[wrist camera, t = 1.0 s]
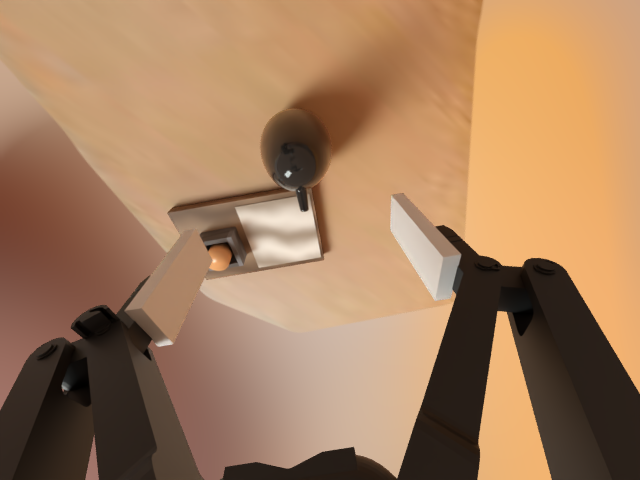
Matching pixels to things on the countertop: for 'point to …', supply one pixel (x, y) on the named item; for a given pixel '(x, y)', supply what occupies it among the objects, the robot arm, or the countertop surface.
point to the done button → (220, 256)
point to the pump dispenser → (296, 151)
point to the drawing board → (255, 230)
